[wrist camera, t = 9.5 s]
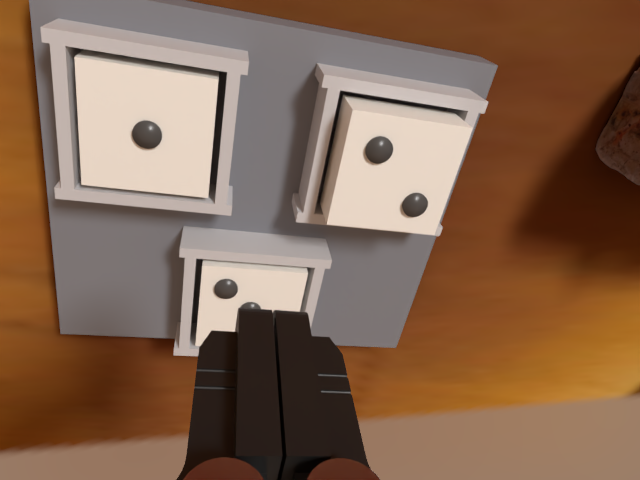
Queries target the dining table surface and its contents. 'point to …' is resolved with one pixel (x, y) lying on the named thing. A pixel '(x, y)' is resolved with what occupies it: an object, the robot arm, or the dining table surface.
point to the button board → (235, 168)
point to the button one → (145, 123)
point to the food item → (623, 133)
